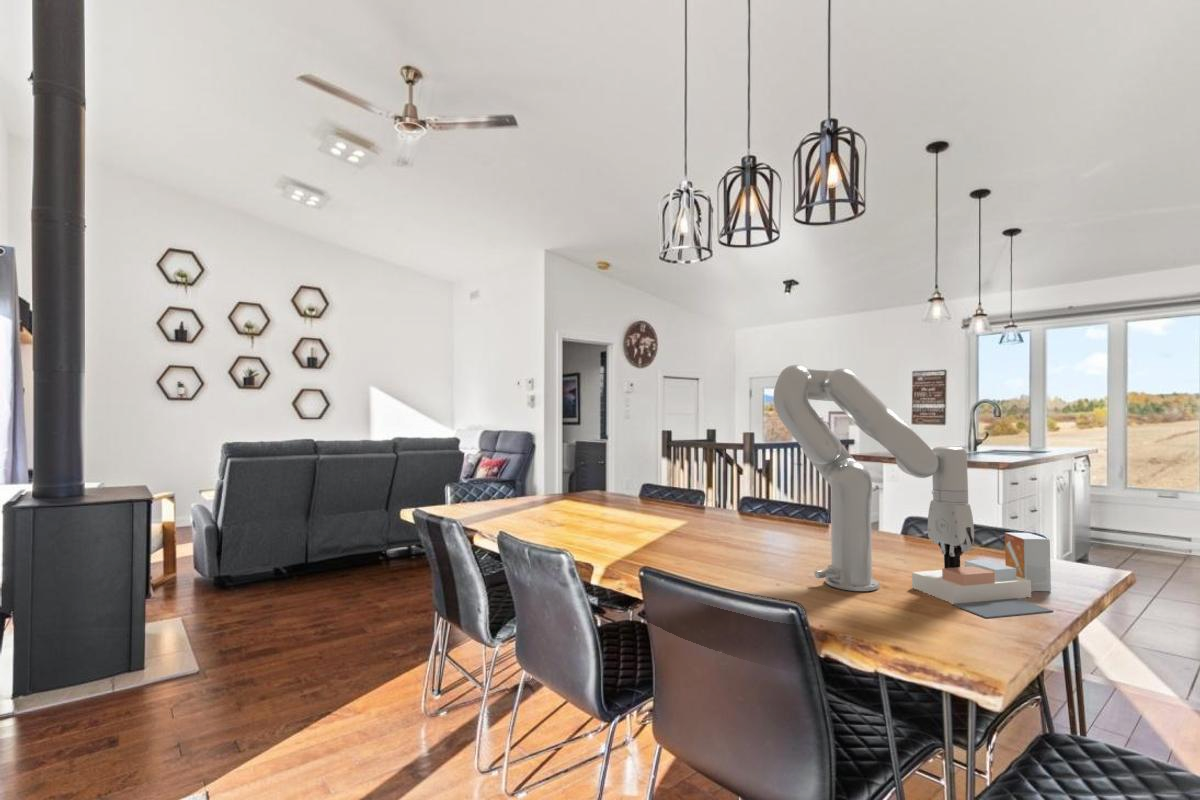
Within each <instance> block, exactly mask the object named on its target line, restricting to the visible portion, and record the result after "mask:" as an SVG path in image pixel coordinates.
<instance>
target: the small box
mask: <svg viewBox="0 0 1200 800" xmlns="http://www.w3.org/2000/svg"><path fill="white" fill-rule="evenodd" d="M1050 541H1051V540H1050V539H1049V538H1047V537H1046V538H1045V537H1044V536H1040V535H1037V534H1034V533H1030V532H1004V548H1005V549H1004V550H1005V552H1004V553H1005V554H1004V557H1005V563H1004V565H1006V566H1010V567H1013V568H1016V576H1017V577H1021V578H1024V579H1028V580H1031V592H1034V591H1049V592H1050V591H1051V592H1052V584H1051V583H1052V582H1051V579H1052V578H1051V547H1050V545H1051V544H1050V543H1051V542H1050ZM1049 592H1048V593H1049Z"/></svg>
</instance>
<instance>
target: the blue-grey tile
mask: <svg viewBox="0 0 1200 800" xmlns="http://www.w3.org/2000/svg"><path fill="white" fill-rule="evenodd" d="M968 566H974V567H978V568H981V569H984V570H988V571H991V572H994V574H995V580H1007V579H1016V568H1013V567H1010V566H1006V565H1005V564H1002V563H999V562H994V561H991V560H987V559H984V558H983V559H973V560H964V567H968Z"/></svg>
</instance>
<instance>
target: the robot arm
mask: <svg viewBox="0 0 1200 800" xmlns="http://www.w3.org/2000/svg"><path fill="white" fill-rule="evenodd" d="M809 400H810V401H811V400H812V401H814V400H815V401H825V402H826V401H827V402H834V404H835V405H837V407H839V409H840V410H842V412H843V413H844V414H846V415H847V417H848V418H849V419H850V420H851V421H852V422H853V423H854V424H855V425H856V426H857V427H858V429H860V430H861V431H862V432H863V433H864V434H866V435H867V436H869V438H872V439H873V440H875V441H877V442H878V443H879V444H880V445H882V446H883V448H884V449H886V450H887V451H888V453H890V454H891V455H892V456H893V457H894V458H895V463H896V465H897V467H898V468H899V470H900V471H901V472H904V473H905V474H906V475H910V476H912V477H915V478H918V479H926V478H929V477H932V490H931V494H932V500H930V503H929V508H928V515H927V516H928V517H927V536H928V539H931V540H932V543H934V544H935V545H937V546H938V547H939V548H940V549H941V550H940V551H941V554H942V555H943V560H944V562H943V563H944V565H943V566H944V567H943V568H955V567H961V557H962V556H963V555H964V554H963V553H965V552H971V551H973V547H972V545H973V544H974V543H975V542H974V541H975V527H974V526H975V525H974V519H973V518H974V516H973V512H972V508H971V504H970V503H969V482H968V454H967V450H966V449H965V448H963V447H962V446H961V447H959V446H936V447H930V446H929V445H928V444H927V443H926V442H925V441H924V440H923V439H922V438H921V437H920V436H919V435H918V434H917V433H916V432H915V431H914V430H913V429H912V428H911V427H910V426H908V424H907V423H905V422H904V421H903V420H902V419H901V418H900V417H898V415H897V414H896V413H895V412H894V411H892V409H890V408H889V407H888V406H887V405H886V404H885V403H884V402H883V401H882V400H881V399H880V398H879V397H878V396H877V395H876V394H875V393H874V392H873V390H871V389H870V388H869V387H868V386H867V385H866V384H865V383H864V382H863V381H862V380H861V379H860V377H858V375H856V374H855V373H854V372H853V371H851V370H849V369H847V368H837V369H834V370H826V369H825V370H824V369H809V368H806V367H804V366H803V365H799V364H793V365H789V366H787V367H785V368H784V369H783V370H781V372H780V374H779V376H778V378H777V380H776V382H775V385H774V390H773V405H774V409H775V412H776V414H777V416H778V418H779V420H780V421H781V422H782V424H783V425H784V427H785V429H787V430H788V432H789V433H790V435H791V436H792V437H793V439H794V440H795V441H796V442H797V443H798V444H799V446H800V448H801V449H802V452H803V454H804V455H805V457H806V458H807V460H808V461H810V463H811V464H812V465H813V467H814V468H815V469H816V471H818V472H819V474H820V475H821V476H822V477H823V479H824V480H825V481H826V482H827V484H829V486H830V489H831V490H830V494H831V495H830V496H831V497H830V525H831V526H830V530H831V534H830V537H831V538H830V539H831V544H830V545H831V548H830V549H831V564H830V565H827V568H826V569H824V570H821V569H819V570H815V571H814V577H815V578H816V579H824V578H825V584H827V585H828V586H831V588H832V587H833V588H836V589H840V590H845V591H850V592H870V591H871V592H872V591H875V590H877V589H879V588H880V584H879V582H878V581H877V580H876V579H874V578H873V571H872V570H873V566H872V565H873V563H872V562H873V561H872V559H873V558H872V557H873V556H872V551H873V550H872V498H873V497H872V496H873V481H872V477H871V474H870V472H869V470H868V469H867V468H866V466H864V465H863V464H861V463H859V462H858V461H857V460H856V459H855V458H854V457H853V456H852V455H851V453H850V452H849V450H847V448H846V447H845V446H844V445H843V443H841V440H840V438H839V436H838V435H837V434H836V433H835V432H834V431H832V429H831V428H830V427H829V426H828V424H826V423H825V422H824V420H823V419H822V418H821V417H820V416H819V414H818V413H817V412H816V410H815V408H814V407H813V406H812V405H811V404H810V401H809Z"/></svg>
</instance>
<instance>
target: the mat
mask: <svg viewBox="0 0 1200 800" xmlns="http://www.w3.org/2000/svg"><path fill="white" fill-rule="evenodd" d="M951 605H952V606H953V605H954V606H953V607H955V606H956V607H955V608H958V607H959V608H958V609H960V608H961V610H964V611H966V612H968V613H971V614H974V615H976V616H979V617H981V618H983V619H992V618H993V619H995V618H1004V617H1016V616H1023V615H1024V616H1025V615H1035V614H1045V613H1046V612H1047V613H1054V610H1053V609H1050V608H1047V607H1044V606H1040V605H1038V604H1034V603H1031V602H1028V601H1026V600H1023V599H1021V598H1018V599H1017V598H1013V599H1002V600H990V601H979V602H968V603H957V604H952V603H951ZM1047 613H1046V614H1047Z"/></svg>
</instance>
